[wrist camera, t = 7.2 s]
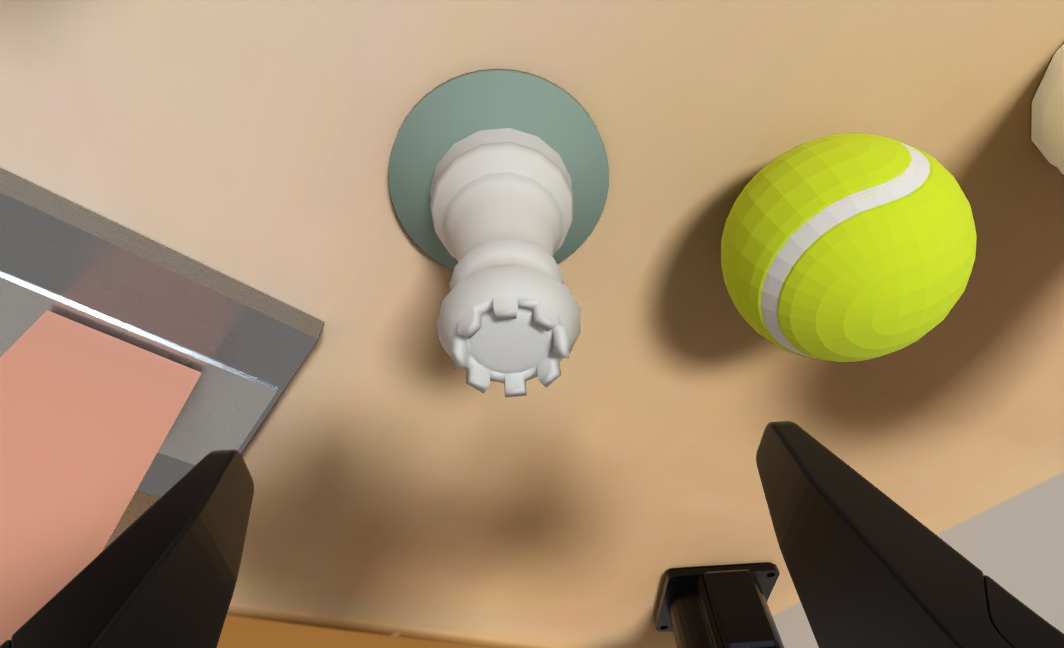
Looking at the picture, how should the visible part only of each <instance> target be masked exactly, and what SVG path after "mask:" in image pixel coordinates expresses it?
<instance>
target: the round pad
mask: <svg viewBox="0 0 1064 648" xmlns="http://www.w3.org/2000/svg"><path fill="white" fill-rule="evenodd" d="M503 128H512V129H515V130H518V131H521V132H525V133H528V134H531V135H534V136H537V137H539V138H540V139H541V140H543V141H544V142H545V143H546V144H547V145H548V146H550V147H551V148H552V149H553V150H554V151H556V152H557V153H558V154H559V155H560V157H561V159H562V161H563V163H564V165H565V167H566V169H567V171H568V173H569V175H570V177H571V182H572V192H573V220H572V223H571V225H570V228H569V230H568V232H567V235H566V237H565V240H564V242H563V244H562V246H561V247H560V248H559V249H558V250H557V251H556V253H555V254H554V255H553V258H554V260H555V261H556V263H557V264H558V263H560V262H561V261H563V260H565V259H566V258H567V257H568V256H570V255H571V254H572V253H574V252H575V251H576V250H577V249H578V248H579V247H580V246H581V245H582V244H583V243H584V242H585V240H586V239H587V238H588V236H589V235H590V234H591V233H592V231H593V229H594V228H595V226H596V224H597V223H598V221H599V218H600V216H601V214H602V212H603V209H604V205H605V202H606V199H607V193H608V186H609V168H608V160H607V155H606V151H605V148H604V144H603V142H602V139H601V137H600V135H599V133H598V130H597V128H596V126H595V124H594V123H593V121H592V119H591V118H590V116H589V114H588V113H587V112H586V111H585V110H584V108H583V107H582V106H581V105H580V104H579V103H578V102H577V101H576V100H575V99H574V98H573V97H572V96H571V95H570V94H569V93H567V92H566V91H564V90H563V89H561V88H560V87H559V86H557V85H556V84H554V83H552V82H550V81H548V80H546V79H544V78H542V77H539V76H536V75H533V74H530V73H526V72H521V71H516V70H508V69H489V70H479V71H475V72H470V73H466V74H463V75H460V76H458V77H455V78H452V79H450V80H448V81H446V82H445V83H443V84H441V85H439V86H437V87H436V88H434V89H433V90H432V91H431V92H429V93H428V94H427V95H425V96H424V97H423V98H422V99H421V100H420V101H419V102H418V103H417V104H416V105H415V106H414V107H413V109H412V110H411V111H410V113H409V114H408V115H407V117H406V118H405V120H404V122H403V124H402V126H401V127H400V129H399V131H398V134H397V137H396V139H395V142H394V145H393V148H392V152H391V157H390V162H389V176H388V178H389V190H390V195H391V199H392V204H393V206H394V209H395V212H396V214H397V217H398V219H399V221H400V222H401V224H402V226H403V228H404V229H405V231H406V232H407V234H408V235H409V236H410V238H411V239H412V240H413V241H414V242H415V243H416V245H417V246H418V247H419V248H420V249H421V250H422V251H424V252H425V253H426V254H427V255H428V256H430V257H431V258H432V259H434V260H435V261H437V262H438V263H440V264H442V265H444V266H446V267H448V268H450V269H452V270H454V268H455V266H456V265H457V264H458V261H457V259H455V258H454V257H452V256H451V255H450V253H449V252H448V250H447V249H446V247H445V246H444V244H443V243H442V242H441V240H440V239H439V237H438V236H437V234H436V232H435V229H434V224H433V218H432V213H431V207H430V203H431V196H430V188H431V185H432V181H433V177H434V173H435V169H436V166H437V164H438V163H439V162H440V161H441V159H442V158H443V157H444V156H445V154H446V153H447V152H448V151H449V149H450V148H451V147H452V146H453V144H455V143H457V142H459V141H461V140H463V139H464V138H466V137H468V136H470V135H472V134H474V133H476V132H478V131H480V130H491V129H503Z"/></svg>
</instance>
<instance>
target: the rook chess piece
mask: <svg viewBox="0 0 1064 648" xmlns="http://www.w3.org/2000/svg"><path fill="white" fill-rule="evenodd" d="M430 196H431V203H430V207H431V213H432V218H433V224H434V229H435V232H436V234H437V236H438V237H439V239H440V240H441V242H442V243H443V244H444V246H445V247H446V249H447V250H448V252H449V253H450V255H451V256H452V257H454V258H455V259H457V261H458V264H457V265H456V266H455V268H454V271H453V275H452V278H451V281H450V285H449V287H450V293H449V294H448V295H447V296H446V297H445V298H444V299H443V301H442V304H441V308H440V311H439V314H438V318H437V321H436V324H437V329H438V334H439V339H440V344H441V346H442V347H443V348H444V349H445V351H446V352H447V353H448V354H449V356H450V357H451V358H452V360H453V362H454V367H455V369H456V368H460V367H463V368H465V369H467V378H466V383H467V384H468V385H470V386H472V387H474V388H475V389H477V390H479V391H481V392H483V393H484V392H485V391H486V390H487V388H488V387H489V385H490V381H495V382H500V383H504V388H505V397H514V396H524V395H527V394H526V382H525V381H528V380H530V379H533V378H535V377H537V376H538V380H539V381H540V382H541V383H542V384H543V385H544V386H545V387H547V386H548V385H550V384H551V383H552V382H553V381H554V380H555V379H557V378H558V377H559V376H560V375H561V371H560V364H559V362H560V361H561V360H562V359H563V358H569V353H570V352H571V350H572V348H573V346H574V344H575V342H576V340H577V338H578V336H579V334H580V308H579V306H578V305H577V303H576V301H575V299H574V297H573V296H572V294H571V292H570V290H569V288H567V287H566V286H564V285H563V274H562V272H561V270H560V269H559V267H558V265H557V263H556V261H555V260H554V258H553V255H554V254H555V253H556V251H557V250H558V249H559V248H560V247H561V246H562V244H563V242H564V240H565V237H566V235H567V232H568V230H569V228H570V225H571V223H572V220H573V192H572V182H571V177H570V175H569V173H568V171H567V169H566V167H565V165H564V163H563V161H562V159H561V157H560V155H559V154H558V153H557V152H556V151H554V150H553V149H552V148H551V147H550V146H548V145H547V144H546V143H545V142H544V141H543V140H541V139H540V138H539V137H537V136H534V135H531V134H528V133H525V132H521V131H518V130H515V129H512V128H503V129H491V130H480V131H478V132H476V133H474V134H472V135H470V136H468V137H466V138H464V139H463V140H461V141H459V142H457V143H455V144H453V146H452V147H451V148H450V149H449V151H448V152H447V153H446V154H445V156H444V157H443V158H442V159H441V161H440V162H439V163H438V164H437V166H436V169H435V173H434V177H433V181H432V185H431V188H430Z"/></svg>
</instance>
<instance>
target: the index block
mask: <svg viewBox="0 0 1064 648" xmlns="http://www.w3.org/2000/svg"><path fill="white" fill-rule="evenodd" d="M200 375H201V372H199V371H196V370H194V369H191V368H189V367H186V366H184V365H182V364H179V363H177V362H174V361H172V360H169V359H167V358H164V357H162V356H159V355H157V354H154V353H152V352H149V351H147V350H144V349H142V348H139V347H137V346H135V345H132V344H130V343H127V342H125V341H122V340H120V339H117V338H115V337H112V336H110V335H107V334H105V333H102V332H100V331H97V330H95V329H92V328H90V327H88V326H85V325H83V324H80V323H78V322H75V321H73V320H70V319H68V318H65V317H63V316H60V315H58V314H55V313H53V312H50V311H48V310H47V311H46V312H45V313H44V314H43V315H42V316H41V317H40V318H39V319H38V320H37V321H36V322H35V323H34V324H33V325H32V326H31V327H30V328H29V329H28V330H27V331H26V332H25V333H24V334H23V335H22V336H21V337H20V338H19V339H18V340H17V341H16V342H15V343H14V344H13V345H12V346H11V347H10V348H9V349H8V350H7V351H6V352H5V353H4V354H3V355H2V356H1V357H0V645H2V644H3V643H4V642H5V641H6V640H11V637H12V635H13V634H14V633H15V632H16V631H17V630H18V629H19V628H20V627H21V626H22V625H23V624H24V623H26V622H27V621H28V620H29V619H30V618H31V617H32V616H33V615H34V614H35V613H36V612H37V611H39V610H40V609H41V608H42V607H43V606H44V605H45V604H46V603H47V602H48V601H49V600H50V599H51V598H53V597H54V596H55V595H56V594H57V593H58V592H59V591H60V590H61V589H62V588H63V587H64V586H66V585H67V584H68V583H69V582H70V581H71V580H72V579H73V578H74V577H75V576H76V575H77V574H78V573H80V572H81V571H82V570H83V569H84V568H85V567H86V566H87V565H88V564H89V563H90V562H91V561H93V560H94V559H95V558H96V557H97V556H98V555H99V554H100V553H101V552H102V551H103V549H104V547H105V546H106V544H107V542H108V540H109V538H110V537H111V535H112V533H113V531H114V529H115V528H116V526H117V524H118V522H119V520H120V519H121V517H122V515H123V513H124V511H125V510H126V508H127V506H128V504H129V503H130V501H131V499H132V497H133V495H134V494H135V492H136V490H137V488H138V486H139V485H140V483H141V481H142V479H143V477H144V476H145V474H146V472H147V470H148V468H149V467H150V465H151V463H152V461H153V459H154V458H155V456H156V454H157V452H158V451H159V449H160V447H161V445H162V443H163V442H164V440H165V438H166V436H167V434H168V433H169V431H170V429H171V427H172V425H173V424H174V422H175V420H176V418H177V416H178V415H179V413H180V411H181V409H182V408H183V406H184V404H185V402H186V400H187V399H188V397H189V395H190V393H191V391H192V390H193V388H194V386H195V384H196V382H197V381H198V379H199V377H200Z"/></svg>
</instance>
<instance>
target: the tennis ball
mask: <svg viewBox="0 0 1064 648" xmlns="http://www.w3.org/2000/svg"><path fill="white" fill-rule="evenodd" d="M976 240H977V236H976V230H975V223H974V219H973V215H972V211H971V206H970V203H969V202H968V200H967V198H966V196H965V195H964V193H963V191H962V189H961V188H960V186H959V184H958V183H957V181H956V180H955V178H954V176H953V175H952V174H951V173H950V172H948V171H947V170H946V169H945V168H944V167H943V166H942V165H941V164H940V163H939V162H938V161H937V160H935V159H934V158H933V157H932V156H931V155H929V154H927V153H925V152H923V151H921V150H919V149H917V148H916V147H914V146H912V145H909V144H906V143H903V142H899V141H896V140H894V139H890V138H887V137H884V136H878V135H873V134H863V133H846V134H836V135H830V136H826V137H821V138H818V139H815V140H812V141H810V142H807V143H804V144H802V145H799V146H796V147H794V148H793V149H791V150H789V151H787V152H785V153H784V154H782V155H780V156H778V157H777V158H775V159H774V160H773V161H772V162H770V163H769V164H768V165H766V166H765V167H764V168H763V169H761V170H760V171H759V172H758V173H757V174H756V175H755V176H754V177H753V179H752V180H751V181H750V182H749V183H748V184H747V185H746V186H745V188H744V189H743V190H742V192H741V193H740V195H739V196H738V198H737V199H736V201H735V202H734V205H733V207H732V209H731V211H730V213H729V216H728V218H727V220H726V222H725V226H724V231H723V235H722V239H721V269H722V273H723V278H724V282H725V285H726V288H727V290H728V293H729V296H730V298H731V299H732V301H733V303H734V305H735V307H736V309H737V310H738V312H739V313H740V314H741V315H742V317H743V318H744V319H745V320H746V322H747V323H748V324H749V325H750V326H751V327H752V328H753V329H754V330H755V331H756V332H757V333H758V334H760V335H761V336H763V337H764V338H766V339H767V340H768V341H770V342H772V343H773V344H775V345H776V346H778V347H780V348H781V349H783V350H786V351H789V352H792V353H795V354H798V355H801V356H804V357H810V358H816V359H819V360H826V361H833V362H857V361H863V360H869V359H874V358H877V357H880V356H883V355H886V354H889V353H892V352H895V351H898V350H900V349H902V348H904V347H906V346H908V345H910V344H912V343H914V342H916V341H918V340H919V339H920V338H921V337H923V336H924V335H925V334H927V333H928V332H929V331H930V330H932V329H933V328H934V327H935V326H937V325H938V324H939V323H940V322H941V321H943V320H944V319H945V317H946V316H947V314H948V313H949V312H950V310H951V309H952V308H953V306H954V305H955V303H956V302H957V301H958V299H959V298H960V296H961V295H962V294H963V292H964V291H965V288H966V285H967V283H968V280H969V277H970V274H971V272H972V268H973V264H974V261H975V256H976Z"/></svg>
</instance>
